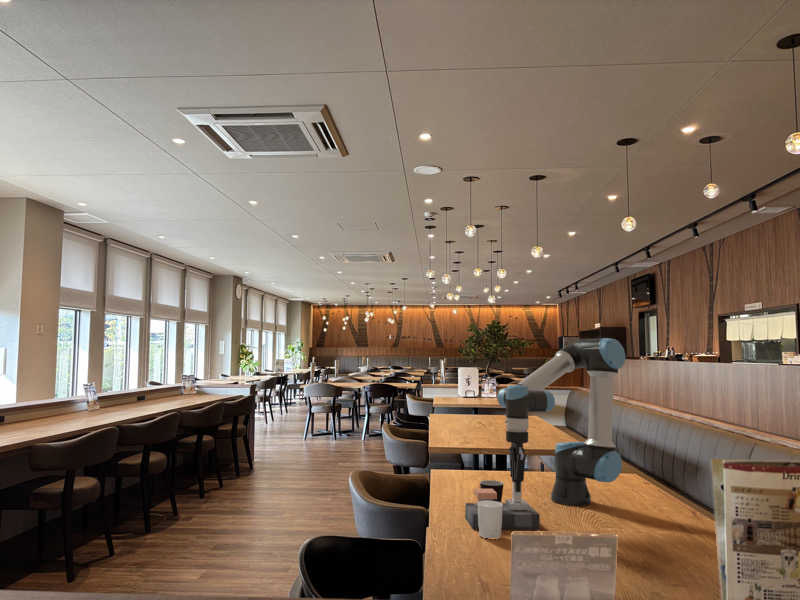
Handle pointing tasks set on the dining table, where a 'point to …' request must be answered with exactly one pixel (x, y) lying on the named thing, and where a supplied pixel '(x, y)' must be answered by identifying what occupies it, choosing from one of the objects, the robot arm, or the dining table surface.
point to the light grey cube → (517, 505)
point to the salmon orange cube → (485, 494)
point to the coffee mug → (494, 485)
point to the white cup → (490, 519)
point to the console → (507, 518)
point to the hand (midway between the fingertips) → (516, 500)
